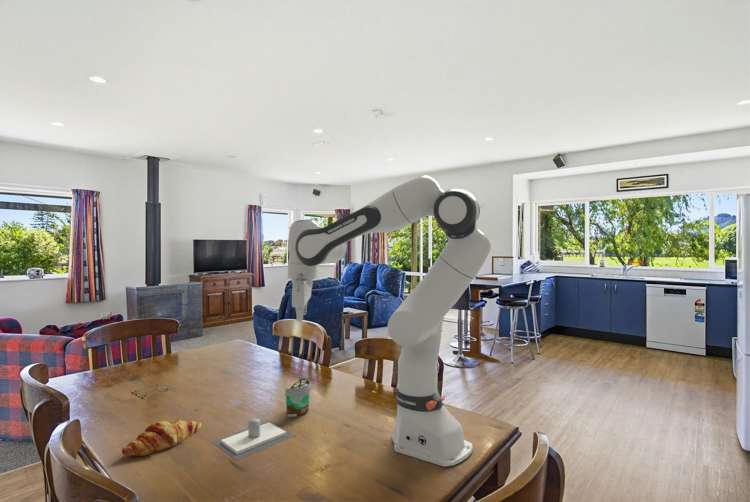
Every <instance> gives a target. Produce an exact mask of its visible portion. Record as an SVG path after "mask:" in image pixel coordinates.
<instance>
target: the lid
mask: <svg viewBox="0 0 750 502" xmlns="http://www.w3.org/2000/svg"><path fill="white" fill-rule="evenodd" d="M260 424H261V419H260V417H252V418H250V419H248V422H247V425H248V427H247V429H248V430H247V431H244V432H241V433H239V434H236V435H233V436H231V437H228V438H225V439H222V440H221V443H222V444H223V445H225V446H226V447H228V448H229V449H230V450H232V451H233V452H234V453H236V454H240V453H242V452H245V451H247V450H250V449H252V448H255V447H257V446H259V445H262V444H264V443H267V442H269V441H272V440H274V439H277V438H279V437H282V436H284V435H286V432H285V431H284V430H285V429H284V430H282V429H280V428H278V427H276V426H275V425H276V424H275V425H273V424H271V423H266V424H263V425H260Z"/></svg>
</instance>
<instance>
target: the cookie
mask: <svg viewBox="0 0 750 502" xmlns="http://www.w3.org/2000/svg"><path fill="white" fill-rule="evenodd" d="M162 384H163V385H158V384H156V385H157V386H155V385H153V386H154V387H151V386H150V387H151V388H147V387H145V389H144V388H140V389H136V390H137V391H136V390H133V391H134V392H132V391H131V392H132V393H131V394H133V393H135V394H138V395H139V394H140V393H143V392H146V393H148V392H147V390H148V391H149V390H151V389H154V388H155V387H157V388H158V387H160V388H161V387H166V386H168V388H167V389H165V388H164V389H163V388H162V390H160V391H157V392H155V393H158V394H159V393H160V394H161V393H162V394H163V393H165V392H167V391H172V390H176V389H177V388H175V387H173V386H170V385H168V384H166V383H162ZM141 389H143V390H141ZM146 393H145V395H144V394H142V395H141V394H140V396H141V397H142V398H144V397H149V396H150V395H153V393H151V394H150V393H149V394H146ZM135 394H134V395H135ZM148 395H149V396H148ZM154 395H155V394H154ZM163 395H164V394H163ZM142 398H141V399H142Z"/></svg>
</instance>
